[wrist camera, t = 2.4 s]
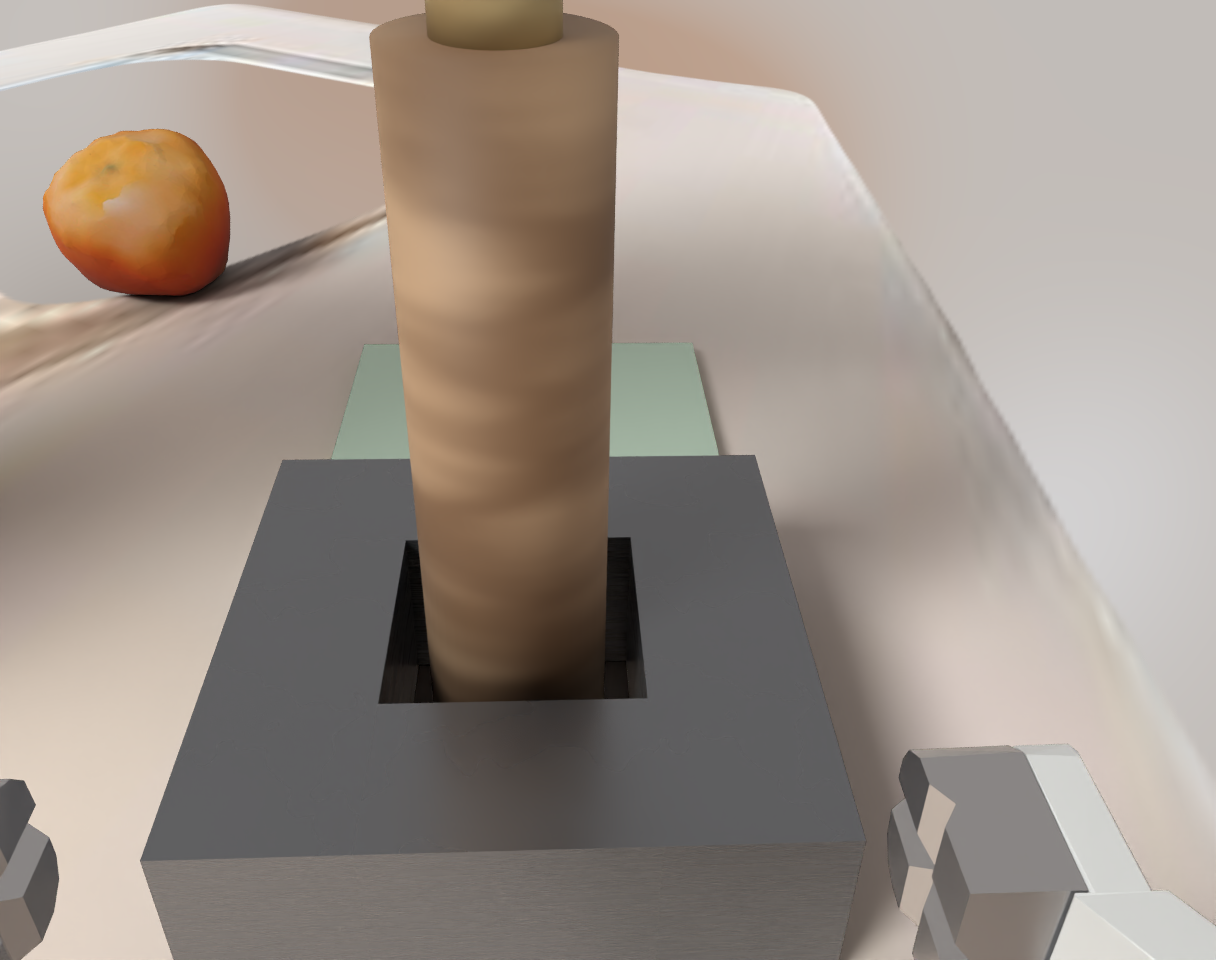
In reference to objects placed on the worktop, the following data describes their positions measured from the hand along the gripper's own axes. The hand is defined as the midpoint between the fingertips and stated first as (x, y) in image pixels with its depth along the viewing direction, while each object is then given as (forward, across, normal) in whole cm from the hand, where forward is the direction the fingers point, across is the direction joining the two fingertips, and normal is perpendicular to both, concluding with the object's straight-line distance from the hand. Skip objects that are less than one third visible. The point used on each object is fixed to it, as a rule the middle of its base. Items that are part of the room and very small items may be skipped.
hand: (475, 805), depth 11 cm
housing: (+14, 0, +14) cm, 20 cm away
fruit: (+44, +18, +14) cm, 50 cm away
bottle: (+14, 0, +14) cm, 20 cm away
